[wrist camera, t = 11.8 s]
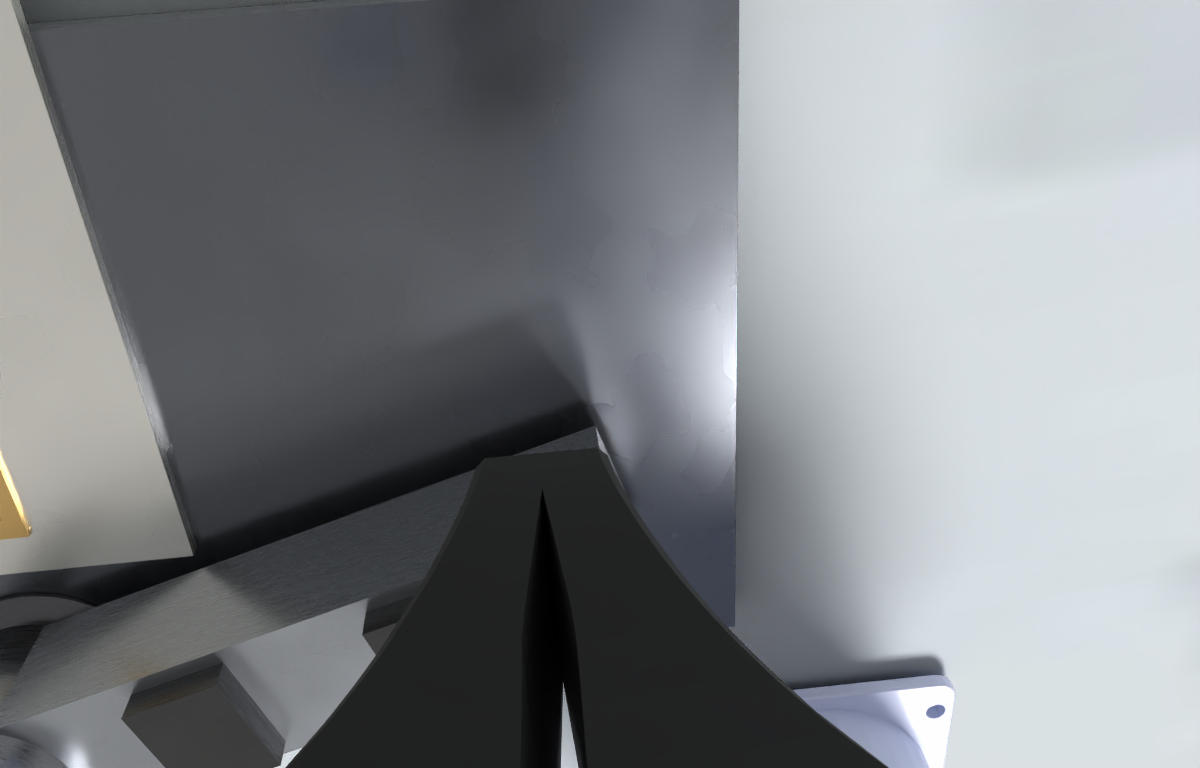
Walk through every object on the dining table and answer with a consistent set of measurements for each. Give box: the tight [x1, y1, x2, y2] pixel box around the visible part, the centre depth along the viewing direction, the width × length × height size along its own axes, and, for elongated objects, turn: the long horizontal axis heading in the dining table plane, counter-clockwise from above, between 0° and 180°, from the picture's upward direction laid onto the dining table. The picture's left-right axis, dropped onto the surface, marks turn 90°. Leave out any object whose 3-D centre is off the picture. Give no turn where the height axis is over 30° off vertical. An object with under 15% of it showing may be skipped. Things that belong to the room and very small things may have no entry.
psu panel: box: [0, 0, 739, 629], centre depth 21 cm, size 17×20×1 cm
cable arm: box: [0, 426, 624, 768], centre depth 21 cm, size 16×4×4 cm, turn 111°
